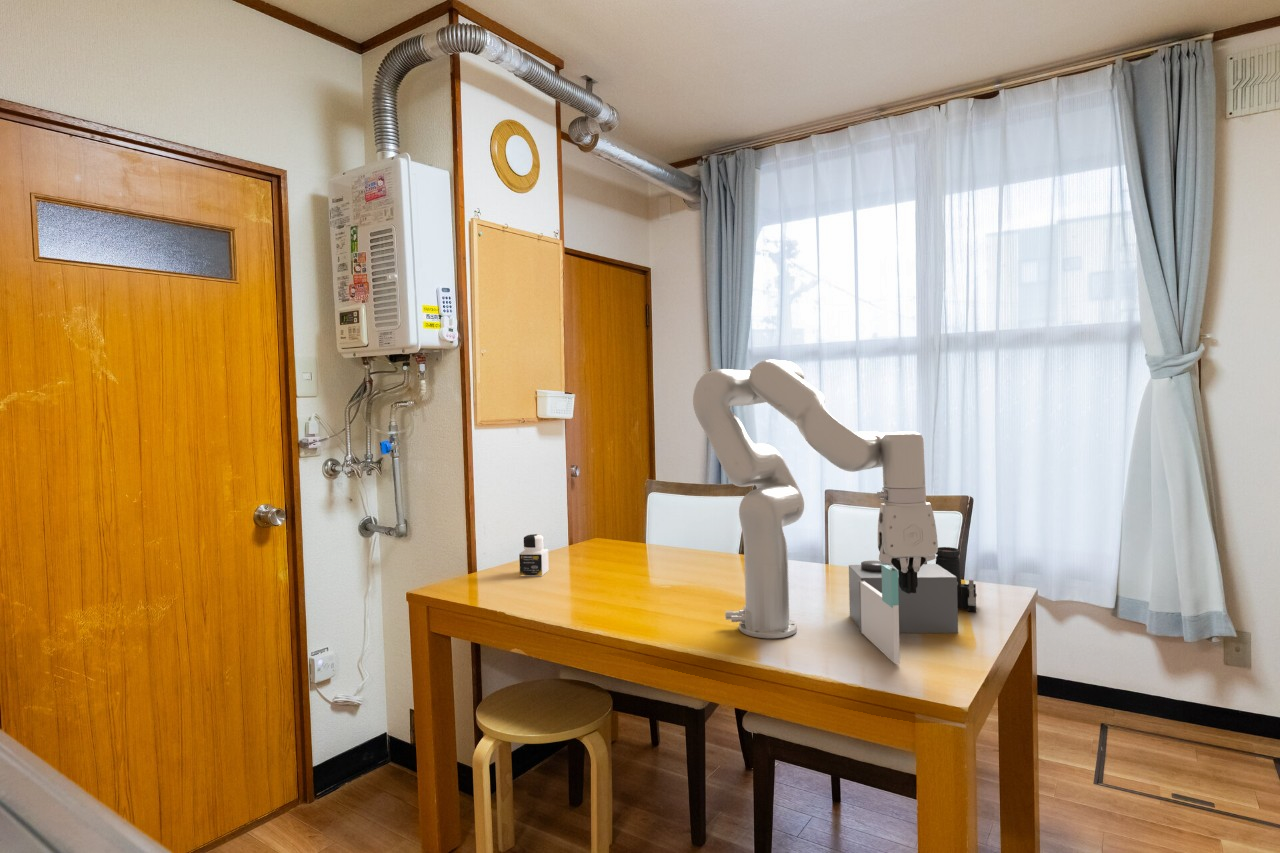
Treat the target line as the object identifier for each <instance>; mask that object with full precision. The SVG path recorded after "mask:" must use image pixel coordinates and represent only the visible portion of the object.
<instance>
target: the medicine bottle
mask: <svg viewBox="0 0 1280 853" xmlns="http://www.w3.org/2000/svg"><path fill="white" fill-rule="evenodd" d="M544 547H545V546H544V536H543V535H541V534H537V533H536V534H527V535H525V536H524V537H523V550H522V551H521V552H519V558H518V559H519V576H520V575H527V576H526V577H543V576H545V575H546V574H547V573H548V572H549V571H550V570H549V568H550V567H549V565H550V564H549V562H550V561H549V549H548V548H544ZM546 572H547V573H546ZM542 575H543V576H542Z"/></svg>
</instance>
